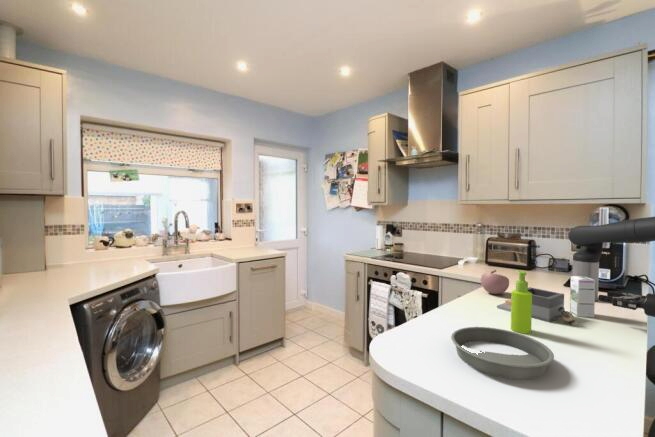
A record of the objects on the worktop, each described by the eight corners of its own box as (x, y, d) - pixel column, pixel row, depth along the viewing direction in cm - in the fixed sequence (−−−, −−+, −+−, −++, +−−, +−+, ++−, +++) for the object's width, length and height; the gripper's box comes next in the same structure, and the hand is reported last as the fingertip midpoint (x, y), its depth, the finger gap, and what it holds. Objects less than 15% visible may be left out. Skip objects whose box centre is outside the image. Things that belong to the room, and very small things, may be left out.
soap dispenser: (527, 327, 108) (528, 270, 108) (533, 334, 102) (535, 274, 101) (508, 325, 110) (509, 268, 110) (512, 332, 104) (514, 272, 103)
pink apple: (509, 292, 152) (510, 269, 151) (508, 298, 142) (508, 273, 141) (482, 289, 158) (482, 266, 158) (479, 294, 148) (479, 270, 148)
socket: (512, 303, 135) (512, 283, 135) (563, 316, 119) (564, 294, 119) (496, 307, 129) (497, 287, 129) (548, 322, 113) (549, 299, 113)
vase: (560, 325, 110) (560, 308, 110) (554, 321, 115) (554, 305, 115) (578, 327, 108) (578, 309, 108) (572, 323, 113) (571, 306, 114)
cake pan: (577, 375, 78) (578, 357, 78) (499, 391, 71) (499, 372, 71) (498, 336, 102) (498, 322, 101) (433, 345, 95) (433, 331, 94)
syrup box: (595, 317, 118) (596, 279, 117) (577, 316, 119) (578, 278, 118) (585, 312, 123) (587, 276, 123) (568, 311, 125) (570, 275, 124)
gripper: (672, 293, 105) (610, 283, 119) (661, 300, 98) (596, 288, 112) (671, 315, 106) (609, 302, 120) (660, 323, 98) (595, 309, 112)
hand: (603, 295), depth 116 cm, fingers open, 8 cm apart
